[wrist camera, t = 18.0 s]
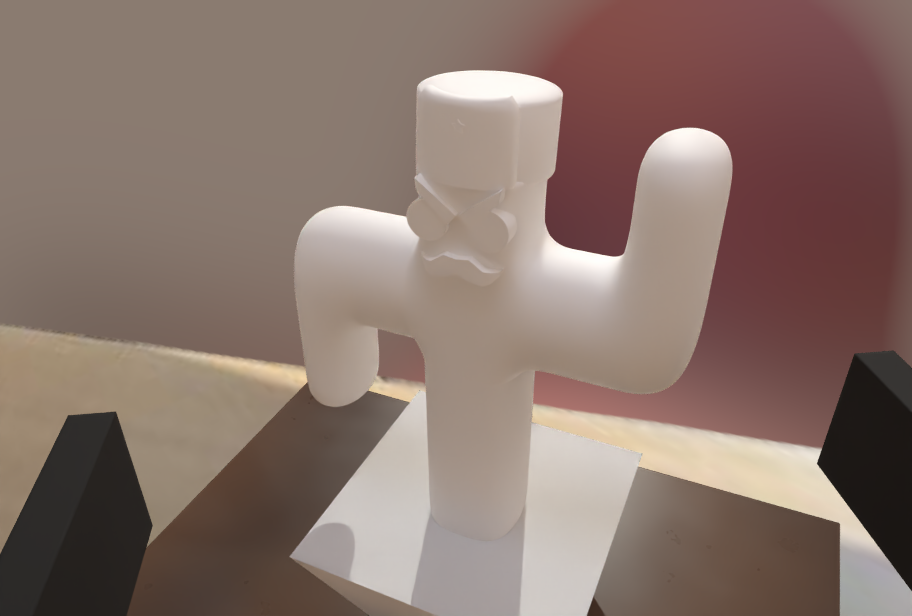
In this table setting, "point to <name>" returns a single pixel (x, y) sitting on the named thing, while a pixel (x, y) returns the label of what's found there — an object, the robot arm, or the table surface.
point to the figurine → (496, 354)
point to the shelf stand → (327, 612)
